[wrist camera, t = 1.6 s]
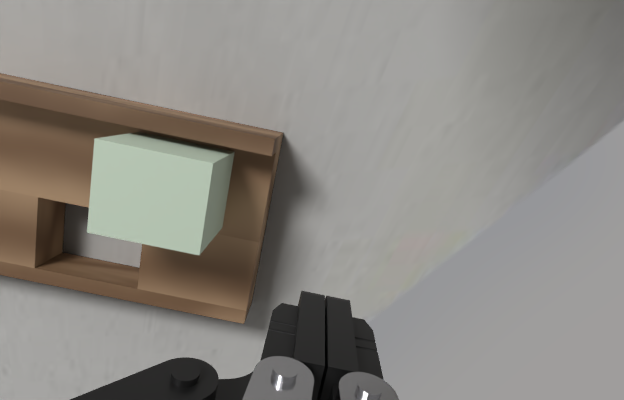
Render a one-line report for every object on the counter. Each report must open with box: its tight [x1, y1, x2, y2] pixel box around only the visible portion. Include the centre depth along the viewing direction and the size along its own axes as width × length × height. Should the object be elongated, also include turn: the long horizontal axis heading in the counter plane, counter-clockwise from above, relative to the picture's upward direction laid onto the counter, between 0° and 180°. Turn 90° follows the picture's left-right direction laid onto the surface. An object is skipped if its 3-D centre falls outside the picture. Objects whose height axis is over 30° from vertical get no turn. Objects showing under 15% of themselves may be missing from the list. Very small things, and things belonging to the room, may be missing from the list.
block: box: [87, 132, 235, 255], centre depth 23 cm, size 5×6×5 cm
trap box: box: [0, 73, 283, 324], centre depth 26 cm, size 13×29×6 cm, turn 78°
